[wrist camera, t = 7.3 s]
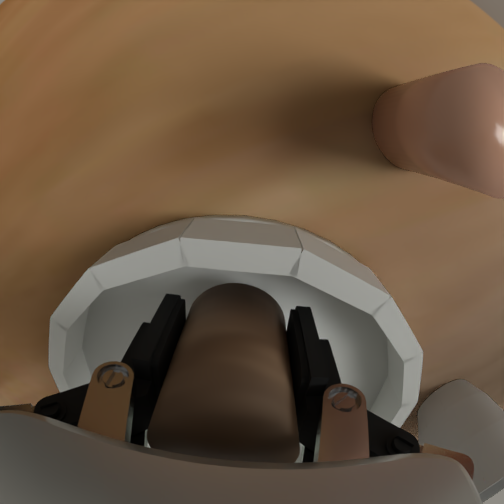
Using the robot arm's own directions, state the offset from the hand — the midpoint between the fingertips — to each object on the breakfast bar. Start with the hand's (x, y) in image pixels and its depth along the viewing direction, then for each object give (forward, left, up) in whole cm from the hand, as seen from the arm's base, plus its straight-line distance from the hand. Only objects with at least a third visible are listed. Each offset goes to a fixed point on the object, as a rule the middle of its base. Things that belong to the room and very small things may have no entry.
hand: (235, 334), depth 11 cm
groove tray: (0, +6, -3) cm, 7 cm away
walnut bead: (0, 0, -1) cm, 1 cm away
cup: (-17, +9, -3) cm, 19 cm away
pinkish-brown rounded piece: (-7, -9, -3) cm, 12 cm away
